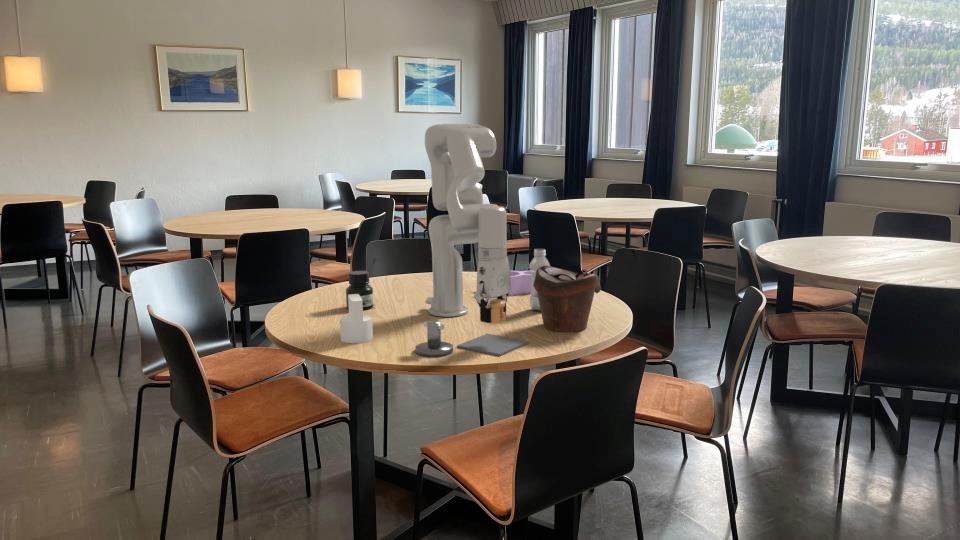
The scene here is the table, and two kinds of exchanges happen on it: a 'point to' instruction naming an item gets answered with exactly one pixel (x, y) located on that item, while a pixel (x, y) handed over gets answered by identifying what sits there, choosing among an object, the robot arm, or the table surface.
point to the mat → (493, 344)
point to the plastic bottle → (534, 265)
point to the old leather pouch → (565, 297)
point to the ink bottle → (360, 288)
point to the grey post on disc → (434, 341)
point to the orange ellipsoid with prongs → (497, 310)
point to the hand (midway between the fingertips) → (493, 318)
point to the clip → (520, 282)
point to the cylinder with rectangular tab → (356, 322)
